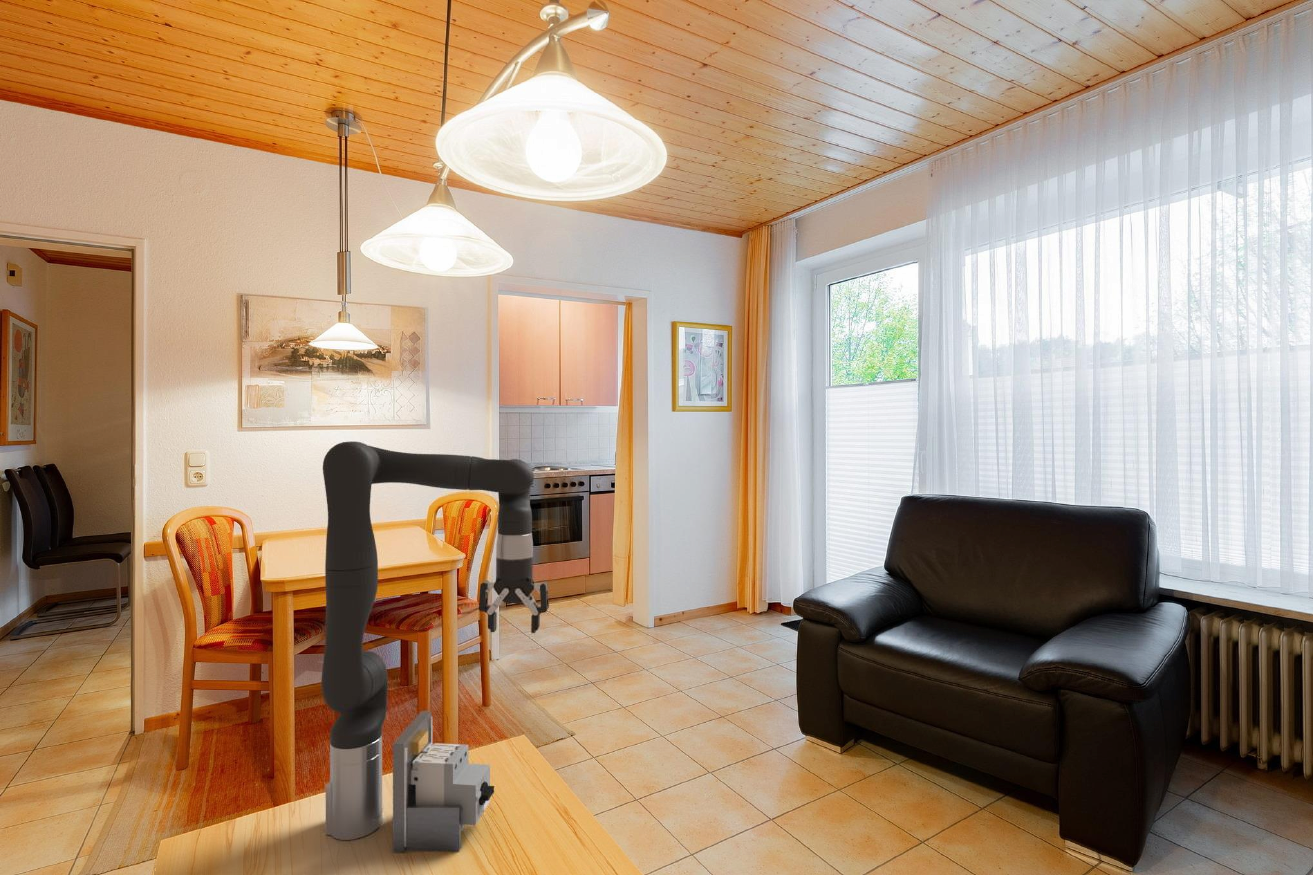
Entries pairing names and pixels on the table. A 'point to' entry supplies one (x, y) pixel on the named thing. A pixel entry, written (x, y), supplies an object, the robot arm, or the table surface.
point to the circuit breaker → (452, 780)
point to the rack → (413, 821)
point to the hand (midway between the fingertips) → (513, 631)
